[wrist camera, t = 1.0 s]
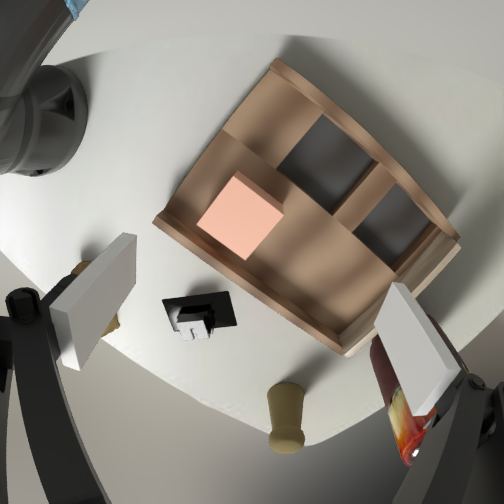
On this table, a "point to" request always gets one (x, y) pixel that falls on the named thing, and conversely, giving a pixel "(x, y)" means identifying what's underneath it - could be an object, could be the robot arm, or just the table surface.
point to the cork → (286, 418)
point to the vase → (402, 400)
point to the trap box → (315, 212)
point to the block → (241, 215)
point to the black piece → (200, 314)
